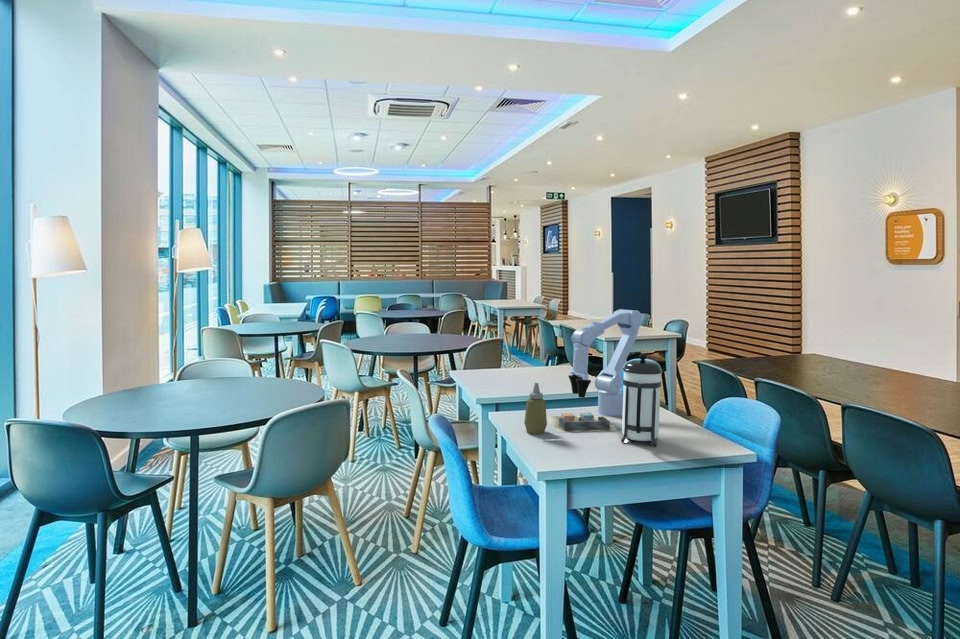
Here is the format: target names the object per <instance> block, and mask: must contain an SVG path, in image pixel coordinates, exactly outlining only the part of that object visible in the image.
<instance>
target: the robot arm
mask: <svg viewBox="0 0 960 639" xmlns="http://www.w3.org/2000/svg"><path fill="white" fill-rule="evenodd" d="M642 317H643V316H642V314H641V311H639V310H637V309H636V310H633V309H623V308H620V309H617V310H615V311H613V313H611V315H609V316H607V317H606V318H604V319H603V320H601V321H598V320H597V321H594V320H593V321H591V323H590V324H589V325H587V326H583V327H582V329H576V330H575V331H574V332H573V333H572V335H571V337H570V338H571V342H572V346H573V357H572V368H571V370H570V371H569V374H570V375H568V378H569V381H570V386H571V392H572V394H575V395H578V398H582V399H583V398H585V397H586V395H587V394H586V393H587V391H588V388H589V386H590V385H591V383H592V380H591V379H589V372H588V366H589V351H590V345H592V343H593V341H594V340H595V339H598V338H599V337H601V336H602V335H604V334H605V331H606V330H608V329H609V328H611V327H613V326H616V325H617V326H618V328H619V330H620V332H622V335H621V337H620V339H619V342H618V344H617V346H616V348H615V350H614V352H613V355H612V356H611V359H610V361H609V362H608V365H607V367H605V368H604V369H602V370H601V371H600V372H599V374H598V375H597V376H596V377H595V380H594V386H595V389H596V390H597V392H598V393H597V394H598V395H597V396H598V399H597V410H594V413H597V415H599V417H607V416H608V417H610V416H612V417H615V416H622V414H623V393H621V392H620V390H621V388H622V384H623V378H624V377H623V376H622V374H621V372H622V371H623V367H624V366H625V364H626V362H627V359H628V356H629V355H630V352H631V350H632V347H633V346H634V344H635V341H636V339H637V338H638V333H639V329H640V327H641V324H642V323H643V318H642Z"/></svg>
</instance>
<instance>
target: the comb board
mask: <svg viewBox="0 0 960 639" xmlns="http://www.w3.org/2000/svg"><path fill="white" fill-rule="evenodd" d="M593 415H594V414H593ZM574 416H575V421H568V420H567V419H565V418H561V415H557V416H556V415H555V416H554V415H553V416H550V415H549V416H548V415H547V416H546V417H547V423H549V424H550V425H551V427H553V428H554V429H555V430H557V431H558V432H559V433H575V432H578V433H579V432H581V433H582V432H607V431H608V432H609V431H611V432H613V431H614V432H615V431H618V430H617V429H616V428H614V427H613V426H612V425H610V424H611V421H610V420H608V419H607V418H606V417H605V416H597V415H596V414H595V415H594V421H588V420H587V419H586V418H584V417H580V415H574Z"/></svg>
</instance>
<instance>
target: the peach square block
mask: <svg viewBox="0 0 960 639" xmlns="http://www.w3.org/2000/svg"><path fill="white" fill-rule="evenodd" d="M560 416H561V418H565V419H567V420H568V421H575V416H576V415H574V414H573V413H571V412H569V413H561V414H560Z"/></svg>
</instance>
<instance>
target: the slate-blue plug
mask: <svg viewBox="0 0 960 639" xmlns="http://www.w3.org/2000/svg"><path fill="white" fill-rule="evenodd" d="M579 416H580V417H584V418H586V419H587V420H588V421H594V414H593V413H591V412H580V413H579Z"/></svg>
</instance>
